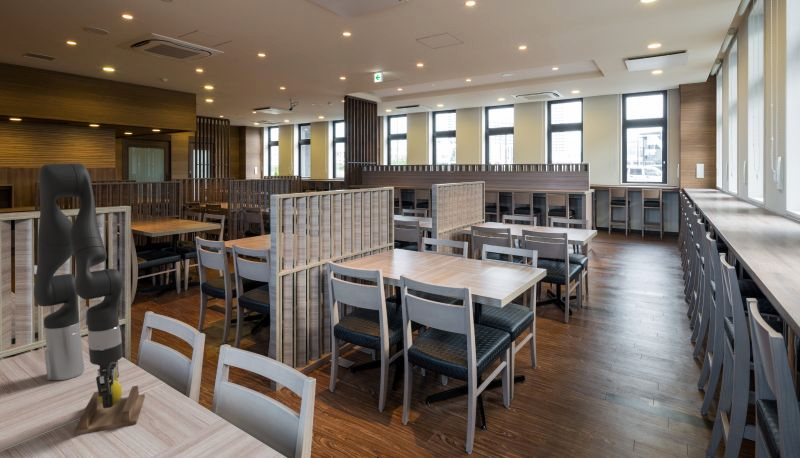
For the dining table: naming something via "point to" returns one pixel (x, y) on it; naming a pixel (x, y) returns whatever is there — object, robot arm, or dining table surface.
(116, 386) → the lemon
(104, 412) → the cradle
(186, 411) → the dining table surface
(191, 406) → the dining table surface
